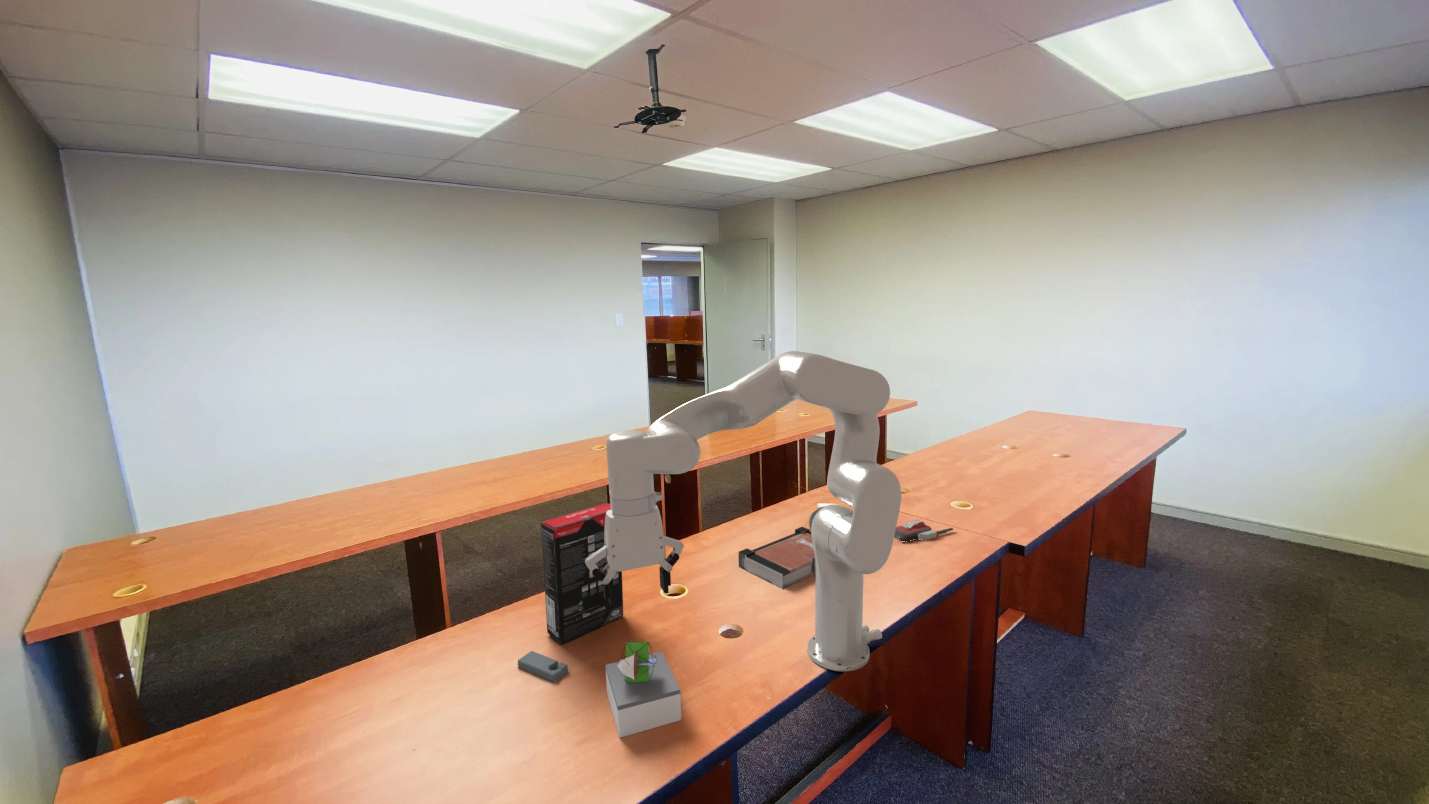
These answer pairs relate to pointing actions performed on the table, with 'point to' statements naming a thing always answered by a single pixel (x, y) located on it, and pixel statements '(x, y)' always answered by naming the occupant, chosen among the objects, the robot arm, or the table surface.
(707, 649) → the table surface
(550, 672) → the bracket
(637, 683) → the grey stand
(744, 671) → the table surface
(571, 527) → the graphics card box
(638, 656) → the geometric puzzle
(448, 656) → the table surface
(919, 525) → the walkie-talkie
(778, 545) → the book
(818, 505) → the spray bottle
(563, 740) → the table surface
